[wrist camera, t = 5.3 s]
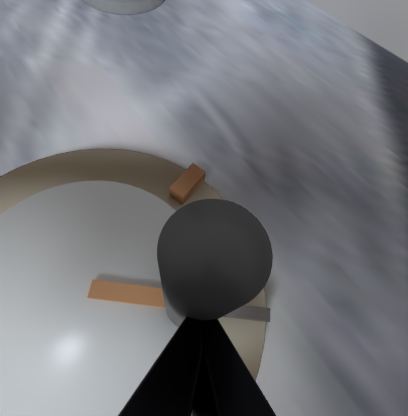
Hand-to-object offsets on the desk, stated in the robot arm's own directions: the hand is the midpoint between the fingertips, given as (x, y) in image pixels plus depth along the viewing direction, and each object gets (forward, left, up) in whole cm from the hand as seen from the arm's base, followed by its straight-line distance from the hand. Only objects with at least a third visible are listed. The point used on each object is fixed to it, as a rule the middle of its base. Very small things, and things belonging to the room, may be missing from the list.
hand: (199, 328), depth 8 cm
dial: (+4, +4, -6) cm, 8 cm away
